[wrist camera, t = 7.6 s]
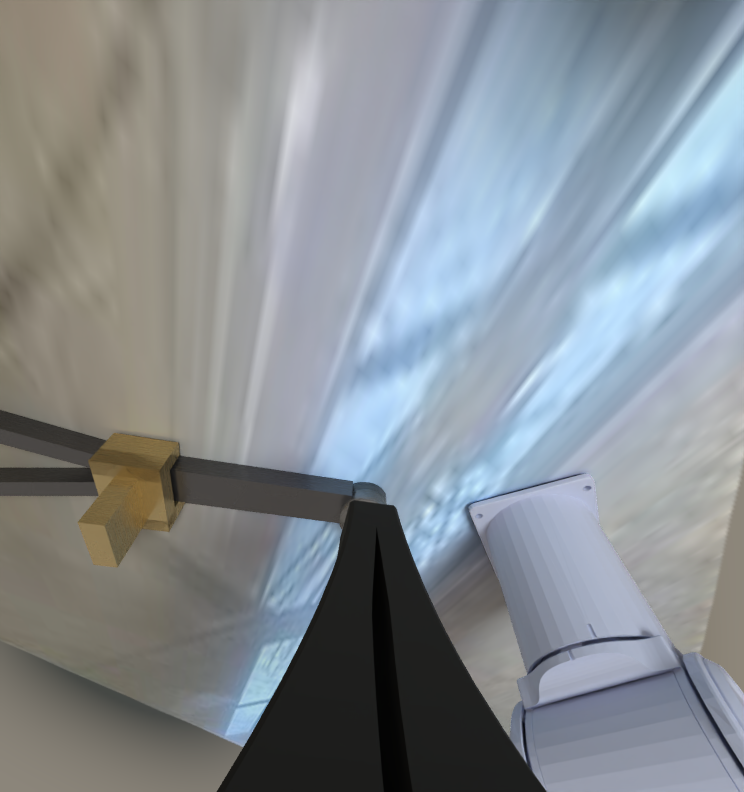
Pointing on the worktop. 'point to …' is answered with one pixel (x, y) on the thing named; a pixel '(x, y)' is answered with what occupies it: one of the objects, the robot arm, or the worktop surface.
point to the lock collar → (129, 495)
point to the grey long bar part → (179, 477)
